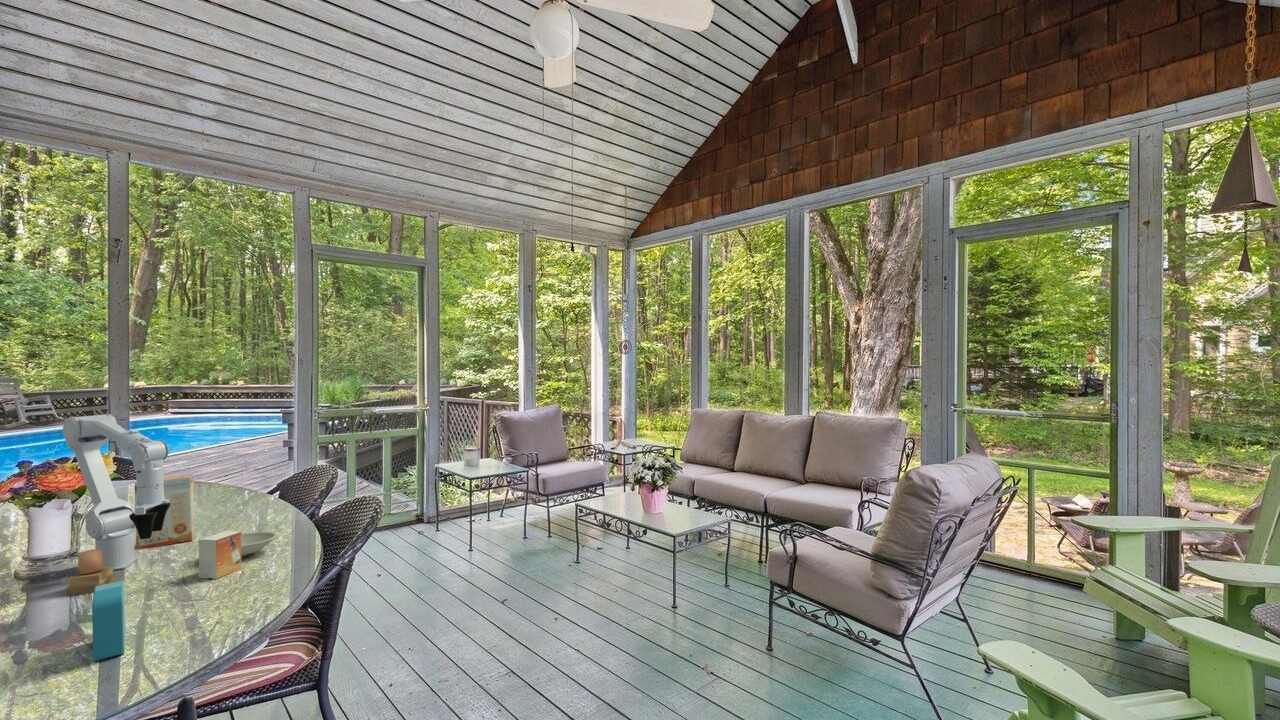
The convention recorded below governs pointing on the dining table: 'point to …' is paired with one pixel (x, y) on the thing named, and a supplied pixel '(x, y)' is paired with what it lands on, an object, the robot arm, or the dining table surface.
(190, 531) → the cracker box
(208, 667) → the dining table surface
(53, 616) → the dining table surface
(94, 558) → the terracotta cylinder
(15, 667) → the dining table surface
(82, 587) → the tan square slab
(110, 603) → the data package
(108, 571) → the oak top block
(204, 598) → the dining table surface
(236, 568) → the small box
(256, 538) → the dish
